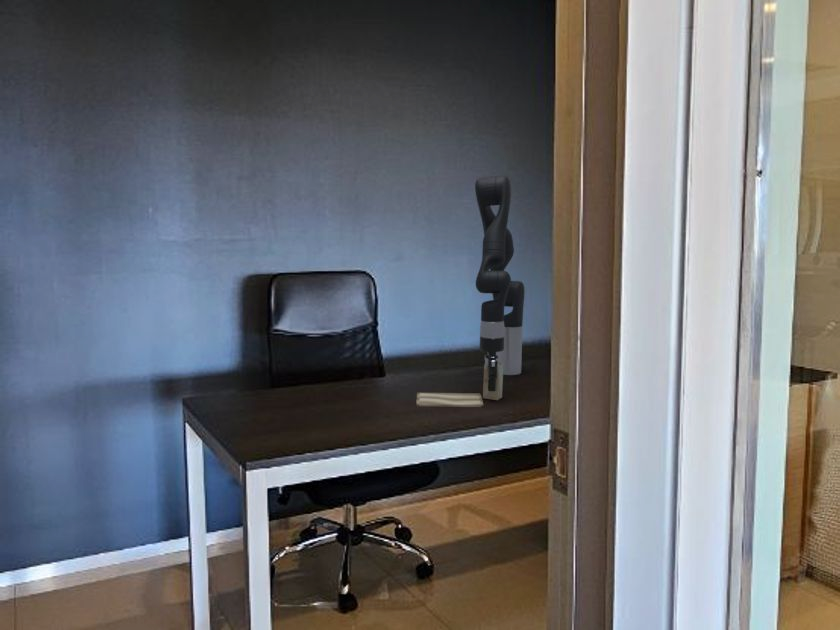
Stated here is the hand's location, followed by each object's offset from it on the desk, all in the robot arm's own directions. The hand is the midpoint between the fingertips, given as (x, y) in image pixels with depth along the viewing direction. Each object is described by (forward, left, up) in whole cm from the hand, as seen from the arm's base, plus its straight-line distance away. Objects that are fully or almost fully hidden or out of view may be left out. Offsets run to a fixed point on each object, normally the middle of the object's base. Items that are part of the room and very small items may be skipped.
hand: (490, 388), depth 229 cm
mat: (+4, -13, -3) cm, 14 cm away
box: (0, +1, -3) cm, 3 cm away
